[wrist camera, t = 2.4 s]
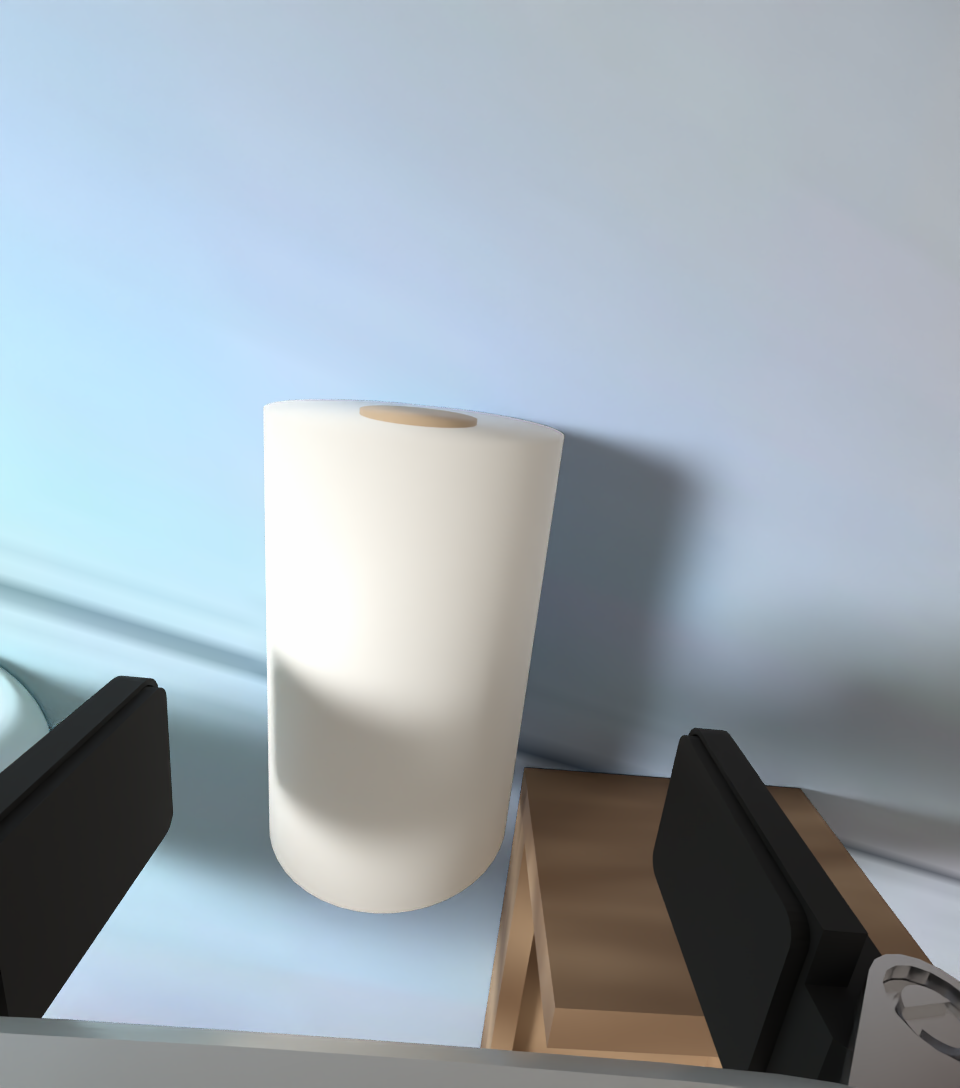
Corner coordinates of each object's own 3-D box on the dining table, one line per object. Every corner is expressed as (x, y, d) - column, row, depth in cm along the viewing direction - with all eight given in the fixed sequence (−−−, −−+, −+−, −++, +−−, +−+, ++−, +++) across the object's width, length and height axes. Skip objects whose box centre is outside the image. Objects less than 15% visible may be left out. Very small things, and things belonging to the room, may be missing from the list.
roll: (329, 389, 15) (196, 408, 9) (561, 416, 14) (572, 453, 9) (321, 723, 18) (219, 890, 12) (511, 752, 18) (496, 939, 12)
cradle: (524, 767, 18) (555, 1007, 11) (800, 788, 19) (983, 1031, 12) (477, 1067, 23) (480, 1362, 16) (700, 1078, 23) (792, 1371, 16)
